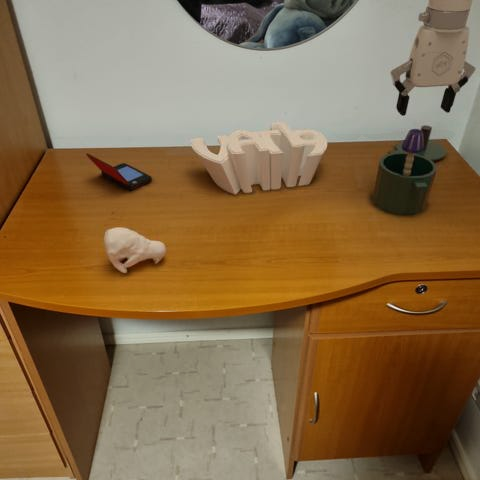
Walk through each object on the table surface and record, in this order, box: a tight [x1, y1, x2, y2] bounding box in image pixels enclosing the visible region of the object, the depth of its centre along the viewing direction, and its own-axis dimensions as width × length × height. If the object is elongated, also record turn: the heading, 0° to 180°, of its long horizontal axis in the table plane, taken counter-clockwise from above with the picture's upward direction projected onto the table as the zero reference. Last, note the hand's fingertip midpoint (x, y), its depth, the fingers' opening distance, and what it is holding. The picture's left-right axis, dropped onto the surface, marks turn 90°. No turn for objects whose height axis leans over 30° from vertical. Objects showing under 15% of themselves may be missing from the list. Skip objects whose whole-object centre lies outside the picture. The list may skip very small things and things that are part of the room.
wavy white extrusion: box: [190, 121, 328, 195], centre depth 122 cm, size 35×16×11 cm, turn 102°
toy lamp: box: [402, 128, 424, 176], centre depth 111 cm, size 5×5×17 cm
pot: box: [371, 149, 438, 216], centre depth 114 cm, size 13×18×10 cm
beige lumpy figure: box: [103, 227, 167, 274], centre depth 96 cm, size 6×8×12 cm
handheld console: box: [86, 153, 153, 191], centre depth 122 cm, size 12×11×7 cm
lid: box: [395, 124, 447, 162], centre depth 134 cm, size 14×14×7 cm
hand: (423, 111), depth 102 cm, fingers open, 9 cm apart
